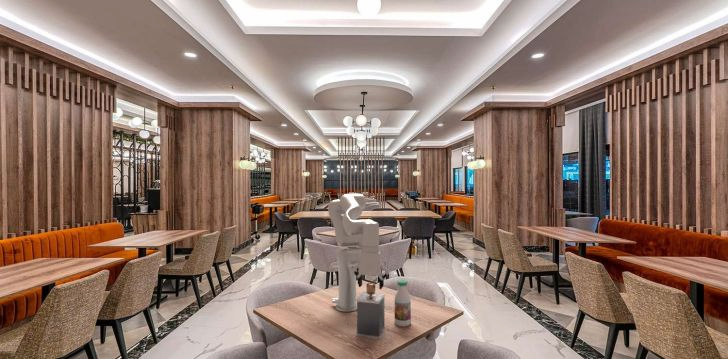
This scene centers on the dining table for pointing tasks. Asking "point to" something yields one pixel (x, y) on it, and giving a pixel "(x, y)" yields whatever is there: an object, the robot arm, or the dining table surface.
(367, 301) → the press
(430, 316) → the dining table surface
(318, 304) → the dining table surface
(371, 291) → the plunger
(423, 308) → the dining table surface
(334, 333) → the dining table surface
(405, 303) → the milk bottle
